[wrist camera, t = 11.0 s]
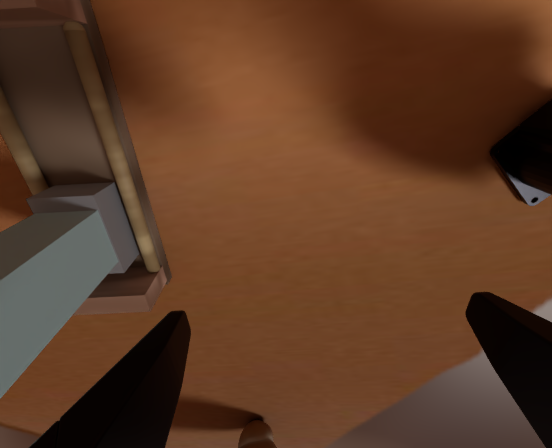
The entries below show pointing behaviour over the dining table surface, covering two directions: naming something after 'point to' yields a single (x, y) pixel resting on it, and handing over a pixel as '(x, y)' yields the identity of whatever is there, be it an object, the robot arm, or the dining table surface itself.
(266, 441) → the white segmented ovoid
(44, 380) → the dining table surface
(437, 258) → the dining table surface
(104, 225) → the carriage
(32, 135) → the rail track
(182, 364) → the robot arm
